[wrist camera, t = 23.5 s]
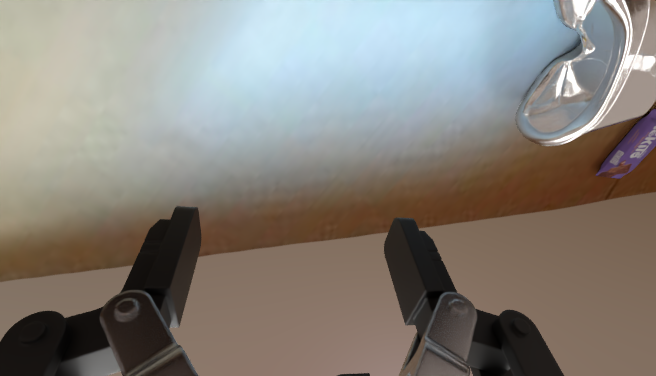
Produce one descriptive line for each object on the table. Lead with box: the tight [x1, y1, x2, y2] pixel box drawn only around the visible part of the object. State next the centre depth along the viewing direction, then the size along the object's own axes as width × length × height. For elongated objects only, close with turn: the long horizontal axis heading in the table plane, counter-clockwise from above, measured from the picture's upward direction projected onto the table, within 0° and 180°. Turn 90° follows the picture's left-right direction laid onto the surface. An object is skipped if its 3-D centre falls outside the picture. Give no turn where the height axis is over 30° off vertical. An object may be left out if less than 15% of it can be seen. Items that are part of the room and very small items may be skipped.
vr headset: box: [515, 0, 656, 146], centre depth 32 cm, size 18×11×14 cm, turn 10°
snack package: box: [596, 109, 656, 179], centre depth 48 cm, size 12×2×5 cm
